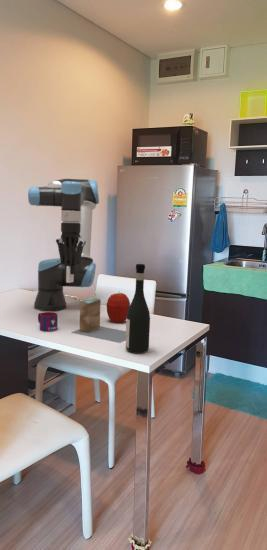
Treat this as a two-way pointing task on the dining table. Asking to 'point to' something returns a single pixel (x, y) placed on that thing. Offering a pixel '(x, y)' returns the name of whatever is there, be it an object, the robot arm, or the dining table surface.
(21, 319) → the dining table surface
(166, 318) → the dining table surface
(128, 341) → the wine bottle
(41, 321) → the mug
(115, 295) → the apple
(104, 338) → the mat
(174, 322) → the dining table surface
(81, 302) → the block
